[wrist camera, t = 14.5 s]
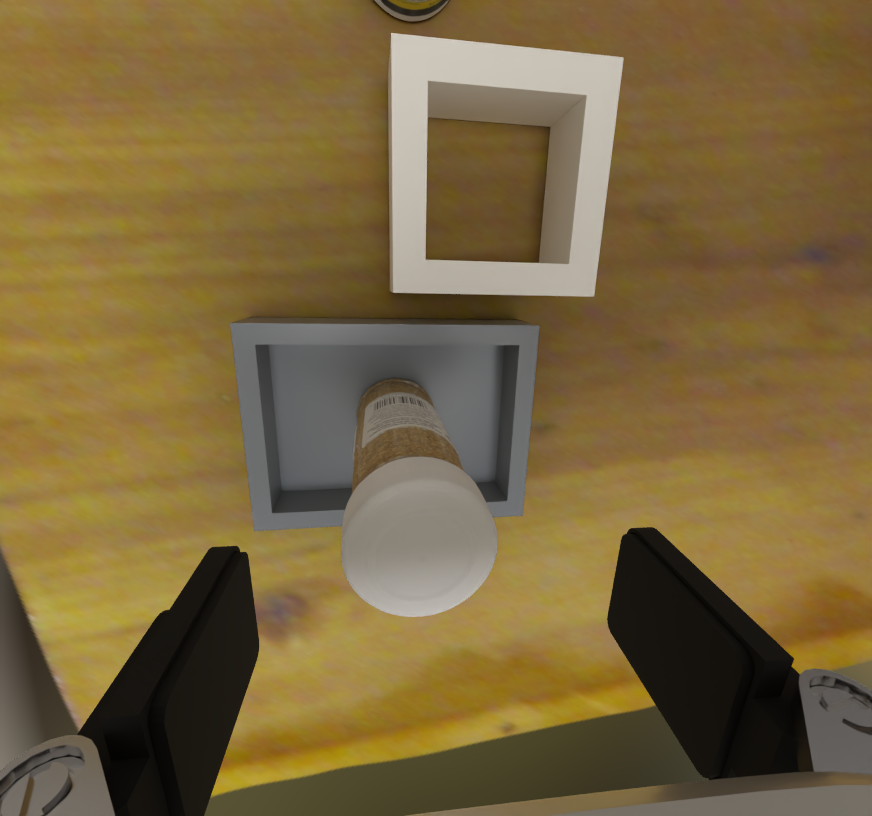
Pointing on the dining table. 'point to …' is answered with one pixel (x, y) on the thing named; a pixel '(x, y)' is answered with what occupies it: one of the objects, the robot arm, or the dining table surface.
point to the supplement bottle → (412, 8)
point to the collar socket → (512, 104)
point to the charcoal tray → (349, 380)
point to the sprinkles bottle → (412, 509)
